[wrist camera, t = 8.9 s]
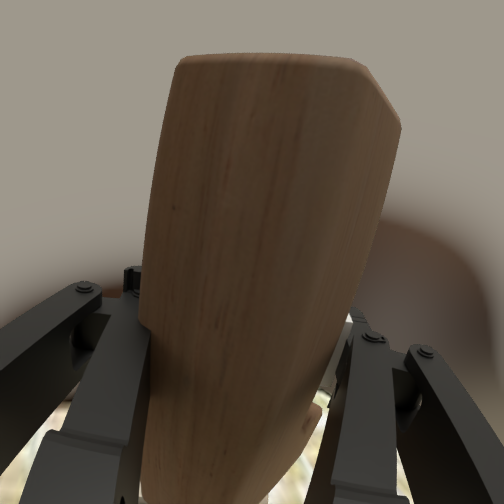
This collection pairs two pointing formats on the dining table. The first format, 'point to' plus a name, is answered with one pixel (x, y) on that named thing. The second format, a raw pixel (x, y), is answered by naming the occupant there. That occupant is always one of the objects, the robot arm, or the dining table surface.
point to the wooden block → (254, 262)
